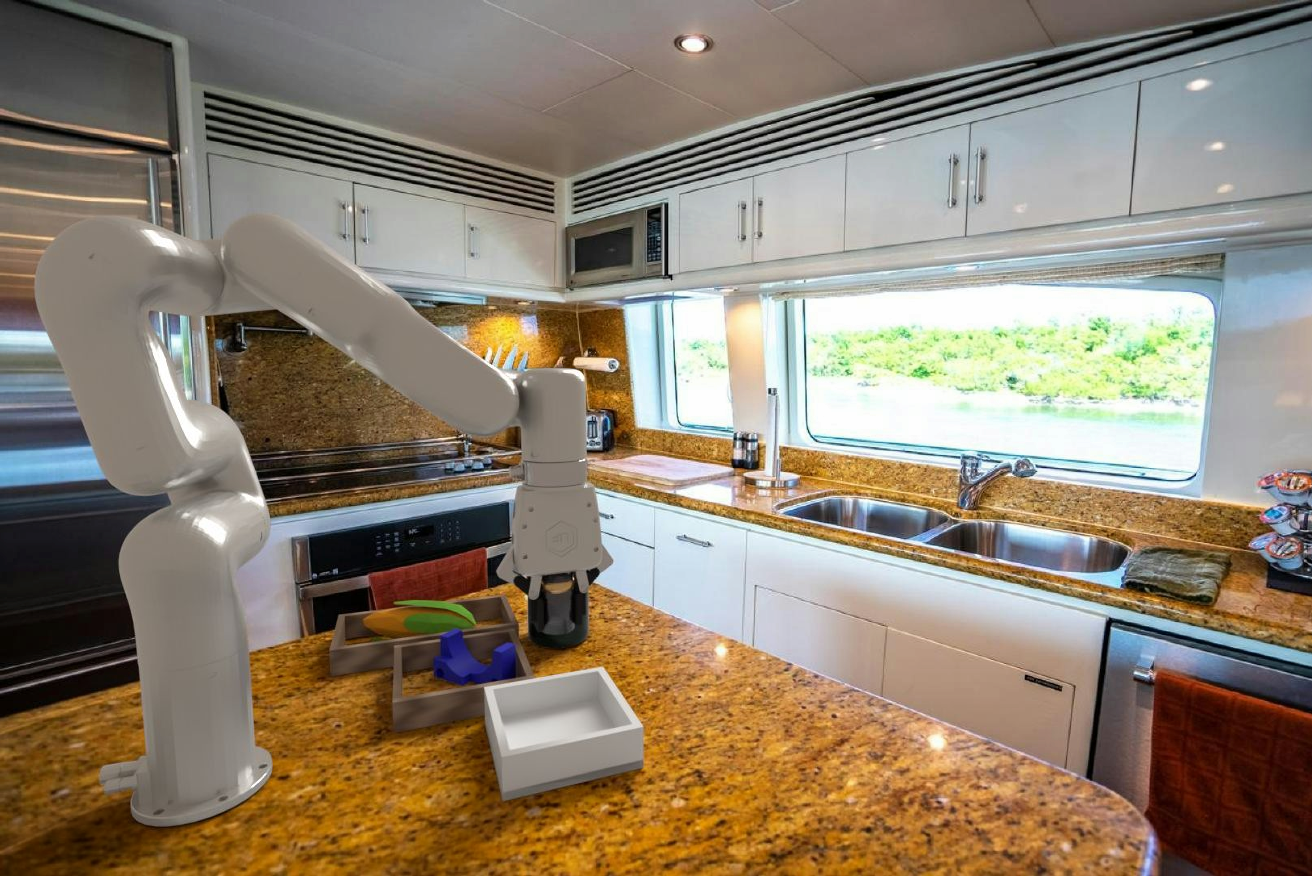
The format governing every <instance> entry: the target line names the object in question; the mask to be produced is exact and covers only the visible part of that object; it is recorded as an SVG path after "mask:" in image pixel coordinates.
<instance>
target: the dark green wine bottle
mask: <svg viewBox="0 0 1312 876" xmlns="http://www.w3.org/2000/svg"><path fill="white" fill-rule="evenodd" d="M526 596H527V595H526ZM526 600H527V601H526V602H527V604H526V605H527V606H526V607H527V612H526V614H527V615H526V617H527V618H526V619H527V620H526V623H527V637H528V639H529V641H530V642H531V643H532V644H533V645H536V646H538V647H540V648H544V649H551V650H552V649H553V650H554V649H566V648H569V647H573V646H577V645H578V644H581V643H583V642H585V640H586V639H587V638H588V636H589V634H590V604H589V603H590V602H589V590H588V591H587V592H586V615H584V616H582V625H581V626H577V625H575V623H574V629H573V630H572V631H571V632H569V633H566V634H560V635H550V634H546V633H543V632H538V631H537V629H536V627H535V625H534V623H530V622H529V617H528V596H527V599H526Z"/></svg>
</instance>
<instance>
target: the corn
mask: <svg viewBox="0 0 1312 876" xmlns="http://www.w3.org/2000/svg"><path fill="white" fill-rule="evenodd" d="M393 605H405V606H402V607H403V608H399V607H394V608H395V609H390V608H387V609H388V610H383V611H378V612H374V613H373V614H371V615H369V616H368V617H366V618H365V619H363V622H364V626H366V627H368V628H369V629H371V630H373V631H374V632H376V633H378V634H377V635H380V636H384V637H387V638H381V637H371V638H370V641H371V642H377V641H384V640H391V639H398V638H406V637H413V636H420V635H427V634H434V633H442V632H449V631H451V630H453V629H459V630H463V629H471V628H477V621H475V620H474V618H473V615H472V614H471V613H470V612H469V611H468V610H466V609H465V608H464V607H463V606H461V605H458V604H453V603H448V601H443V600H422V599H421V600H420V599H419V600H418V599H416V600H415V599H413V600H403V601H402V600H401V601H394V602H393ZM406 605H407V606H411V607H407V606H406ZM415 605H417V606H426V607H417V606H415Z"/></svg>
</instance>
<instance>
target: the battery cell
mask: <svg viewBox="0 0 1312 876" xmlns="http://www.w3.org/2000/svg"><path fill="white" fill-rule="evenodd" d="M540 592H541V597H542V598H543V601H544V630H543V631H542V632H543V633H546V634H550V635H560V634H566V633H569V632H571V631H572V630H573V629H574V572H568V573H559V574H551V575H542V579H541V585H540Z"/></svg>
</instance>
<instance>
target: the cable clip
mask: <svg viewBox="0 0 1312 876" xmlns="http://www.w3.org/2000/svg"><path fill="white" fill-rule="evenodd" d="M440 646H441V655H439V656H437V657H435V658H433V677H435V678H436V679H437V678H438V679H441V680H444V681H446V682H450V683H453V684H456V685H460V686H461V687H465V686H466V685H468V684H469V683H473V684H476V685H478V684H484V683H490V682H496V681H502V680H508V679H513V678H517V675H516V659H515V644H512V643H508V642H507V643H505V644H503V645H502V646H500V647H498V648H496V649H494V650H493V658H491V662H490V664H489V665H487V664H484V663H482V662H480V661H479V660H478V661H477V660H476V659H474V658H473V656H472V655H471V654H470V653H469V651H468V649H467V648H466V645H465V643H464V640H463V634H462V630H459V629H453V630H451V631H449V632H447V633H445V634H443V635H440Z"/></svg>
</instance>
